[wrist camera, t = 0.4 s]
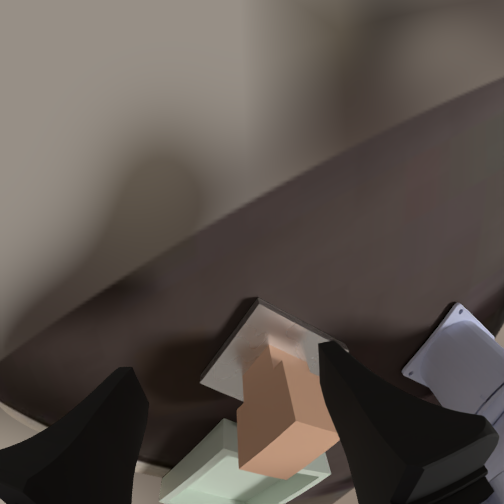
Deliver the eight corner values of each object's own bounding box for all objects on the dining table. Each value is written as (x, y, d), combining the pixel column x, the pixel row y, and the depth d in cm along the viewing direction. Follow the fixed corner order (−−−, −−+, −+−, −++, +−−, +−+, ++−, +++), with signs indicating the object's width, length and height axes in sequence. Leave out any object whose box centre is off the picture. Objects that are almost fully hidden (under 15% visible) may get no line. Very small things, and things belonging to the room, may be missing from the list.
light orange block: (314, 353, 21) (345, 435, 14) (273, 398, 22) (286, 480, 15) (276, 334, 20) (295, 420, 13) (235, 383, 22) (238, 468, 14)
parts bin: (323, 448, 26) (331, 473, 23) (247, 501, 30) (248, 522, 27) (223, 418, 24) (223, 448, 21) (162, 478, 27) (158, 501, 24)
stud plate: (345, 343, 22) (360, 371, 19) (284, 408, 24) (290, 438, 21) (258, 296, 20) (262, 324, 17) (200, 374, 22) (197, 406, 19)
